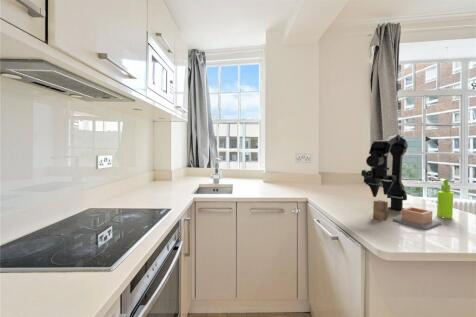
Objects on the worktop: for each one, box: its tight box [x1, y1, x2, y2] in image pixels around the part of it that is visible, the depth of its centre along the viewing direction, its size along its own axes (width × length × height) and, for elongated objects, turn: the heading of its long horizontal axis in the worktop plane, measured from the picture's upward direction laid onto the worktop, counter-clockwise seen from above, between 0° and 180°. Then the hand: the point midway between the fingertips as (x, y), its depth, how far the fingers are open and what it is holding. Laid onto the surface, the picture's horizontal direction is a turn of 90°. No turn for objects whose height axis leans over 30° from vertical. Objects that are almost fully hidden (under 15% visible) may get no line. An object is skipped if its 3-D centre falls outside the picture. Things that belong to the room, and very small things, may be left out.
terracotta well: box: [392, 206, 442, 231], centre depth 109 cm, size 14×14×6 cm
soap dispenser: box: [436, 178, 454, 219], centre depth 116 cm, size 6×7×20 cm
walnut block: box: [372, 199, 389, 221], centre depth 116 cm, size 4×4×9 cm
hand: (380, 195), depth 115 cm, fingers open, 9 cm apart
